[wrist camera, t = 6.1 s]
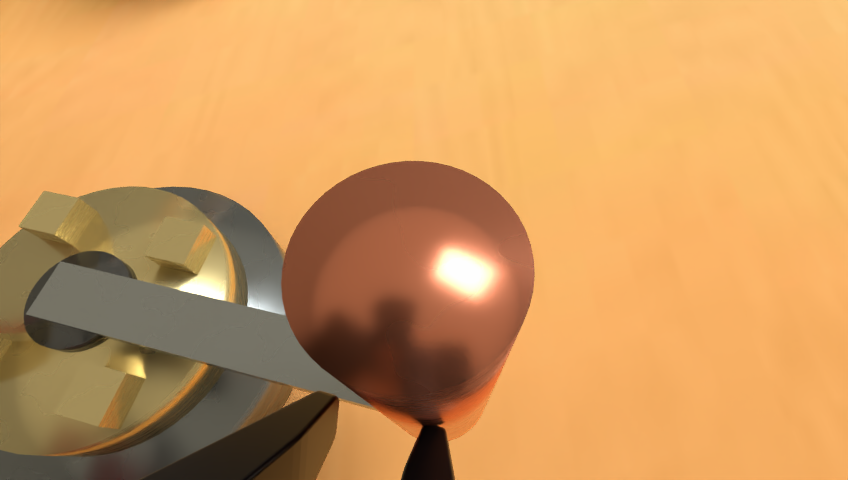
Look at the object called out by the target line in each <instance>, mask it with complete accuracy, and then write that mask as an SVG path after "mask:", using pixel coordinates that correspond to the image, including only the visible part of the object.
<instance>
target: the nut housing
mask: <svg viewBox="0 0 848 480" xmlns="http://www.w3.org/2000/svg"><path fill="white" fill-rule="evenodd" d="M155 189H160V190H163V191H167V192H170V193H173V194H175V195H177V196H180V197H182V198H184V199H185V200H187V201H188V202H190V203H192V204H193V205H194V206H196V207H197V208H198V209H199V210H200V211H201V212H202V213H203V214H204V215H205V216H206V217H207V218H208V219H209V220H210V221H211V222H212V223H213V224H214V225H215V226H216V227H217V228H218V229H219V230H220V231H221V232H222V233H223V234H224V235H225V236H226V237H227V238H228V239H229V241H230V242H231V243H232V245H233V246H234V247H235V249H236V251H237V253H238V254H239V256H240V258H241V261H242V264H243V267H244V269H245V274H246V279H247V285H248V304H247V306H248V307H253V308H257V309H261V310H265V311H269V312H273V313H277V314H282V315H286V314H285V309H284V305H283V300H282V288H281V279H282V267H283V262H284V258H285V252H284V251H283V249H282V248H281V247H280V246H279V244H278V243H277V242H276V241H275V239H274V238H273V237H272V236H271V234H270V233H269V232H268V230H267V229H266V228H265V227H264V225H263V224H262V223H261V222H260V221H259V220H258V219H257V218H256V217H255V216H254V215H253V214H252V213H251V212H250V211H249V210H247V209H246V208H244V207H243V206H241V205H240V204H238V203H237V202H235V201H233V200H231V199H229V198H227V197H225V196H223V195H220V194H216V193H213V192H210V191H207V190H201V189H195V188H188V187H163V188H155ZM292 389H293V388H290V387H286V386H283V385H279V384H275V383H272V382H268V381H264V380H260V379H257V378H253V377H249V376H245V375H242V374H238V373H234V372H231V371H227V370H224V372H223V373H222V375H221V376H220V378H219V380H218V381H217V382H216V384H215V385H214V386H213V387H212V388H211V390H210V391H209V392H208V393H207V395H206V396H205V397H204V398H203V399H202V400H201V401H200V402H199V403H198V404H197V405H196V406H195V407H194V408H193V409H192V410H191V411H190V412H189V413H188V414H186V415H185V416H184V417H183V418H181V419H180V420H179V421H178V422H177V423H175V424H174V425H172V426H171V427H169V428H168V429H166V430H165V431H163V432H162V433H160V434H159V435H157V436H155V437H153V438H151V439H149V440H147V441H145V442H143V443H141V444H139V445H136V446H133V447H131V448H128V449H125V450H123V451H119V452H115V453H110V454H106V455H101V456H90V457H69V456H40V455H23V454H15V453H11V452H7V451H2V450H0V480H139V479H141V478H143V477H145V476H147V475H149V474H151V473H153V472H155V471H157V470H159V469H161V468H163V467H165V466H167V465H169V464H171V463H173V462H175V461H177V460H179V459H181V458H183V457H185V456H187V455H189V454H191V453H193V452H195V451H197V450H199V449H201V448H203V447H205V446H208V445H210V444H212V443H214V442H216V441H218V440H220V439H222V438H224V437H226V436H228V435H230V434H232V433H234V432H236V431H238V430H240V429H242V428H244V427H246V426H248V425H250V424H252V423H254V422H256V421H258V420H260V419H262V418H264V417H266V416H268V415H270V414H272V413H274V412H276V411H278V410H280V409H282V407H283V406H284V404H285V402H286V401H287V399H288V397H289V395H290V393H291V391H292Z"/></svg>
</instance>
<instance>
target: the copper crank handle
mask: <svg viewBox="0 0 848 480" xmlns="http://www.w3.org/2000/svg"><path fill="white" fill-rule="evenodd" d="M19 227H21V228H22V229H21V230H20V231H19V232H17V233H16V234H15V235H14V236H13V237H12V238H11V239H10V240H8V241H7V242H6V243H5V244H4V245H3V246H2V247H1V248H0V450H2V451H7V452H11V453H15V454H23V455H40V456H69V457H90V456H101V455H106V454H110V453H115V452H119V451H123V450H125V449H128V448H131V447H133V446H136V445H139V444H141V443H143V442H145V441H147V440H149V439H151V438H153V437H155V436H157V435H159V434H160V433H162V432H163V431H165V430H166V429H168V428H169V427H171V426H172V425H174V424H175V423H177V422H178V421H179V420H180V419H181V418H183V417H184V416H185V415H186V414H188V413H189V412H190V411H191V410H192V409H193V408H194V407H195V406H196V405H197V404H198V403H199V402H200V401H201V400H202V399H203V398H204V397H205V396H206V395H207V393H208V392H209V391H210V390H211V388H212V387H213V386H214V385H215V384H216V382H217V381H218V380H219V378H220V376H221V375H222V373H223V372H224V370H227V371H231V372H234V373H238V374H242V375H245V376H249V377H253V378H257V379H260V380H264V381H268V382H272V383H275V384H279V385H283V386H286V387H290V388H294V389H298V390H301V391H305V392H309V393H314V392H316V391H324V392H327V393H331V394H334V395H336V396H337V397H338V398H339V401H342V402H346V403H350V404H353V405H357V406H361V407H365V408H368V409H372V410H376V411H379V412H381V413H382V414H383V415H385V416H386V417H387V418H389V419H390V420H391V421H393V422H394V423H395V424H397V425H398V426H399V427H401V428H402V429H403V430H405V431H406V432H407V433H409V434H410V435H412V436H414V437H416V438H418V435H419V433H420V431H421V428H422V426H427V425H436V426H440V427H443V428H444V429H445V430H446V433H447V438H448V441H450V440H453V439H456V438H458V437H460V436H462V435H463V434H465V433H466V432H468V431H469V430H470V429H471V428H472V427H473V426H474V425H475V424H476V422H477V421H478V420H479V418H480V416H481V415H482V413H483V410H484V408H485V406H486V404H487V402H488V399H489V397H490V395H491V393H492V391H493V388H494V386H495V384H496V382H497V379H498V377H499V375H500V373H501V371H502V368H503V366H504V364H505V362H506V359H507V357H508V355H509V353H510V351H511V348H512V346H513V344H514V342H515V339H516V337H517V335H518V333H519V331H520V328H521V326H522V324H523V322H524V319H525V317H526V314H527V311H528V309H529V306H530V302H531V298H532V293H533V287H534V259H533V254H532V249H531V244H530V241H529V239H528V236H527V233H526V230H525V228H524V226H523V224H522V223H521V221H520V219H519V217H518V215H517V214H516V213H515V211H514V210H513V208H512V207H511V206H510V204H509V203H508V202H507V201H506V200H505V199H504V198H503V197H502V196H501V195H500V194H499V193H498V192H497V191H496V190H494V189H493V188H492V187H491V186H490V185H488V184H487V183H485V182H483V181H482V180H480V179H479V178H477V177H475V176H473V175H471V174H469V173H467V172H465V171H463V170H460V169H457V168H454V167H451V166H447V165H443V164H439V163H433V162H424V161H403V162H394V163H388V164H383V165H379V166H375V167H372V168H369V169H366V170H363V171H361V172H359V173H356V174H354V175H352V176H350V177H348V178H346V179H345V180H343V181H341V182H340V183H338V184H336V185H335V186H334V187H332V188H331V189H330V190H328V191H327V192H326V193H325V194H324V195H322V196H321V197H320V198H319V199H318V200H317V201H316V202H315V203H314V204H313V205H312V207H311V208H310V209H309V210H308V211H307V212H306V214H305V215H304V216H303V218H302V219H301V221H300V222H299V224H298V225H297V227H296V229H295V231H294V233H293V235H292V237H291V239H290V242H289V245H288V248H287V250H286V253H285V258H284V262H283V267H282V279H281V288H282V300H283V305H284V309H285V314H286V315H282V314H277V313H273V312H269V311H265V310H261V309H257V308H253V307H248V306H247V304H248V285H247V279H246V274H245V269H244V267H243V264H242V261H241V258H240V256H239V254H238V253H237V251H236V249H235V247H234V246H233V245H232V243H231V242H230V241H229V239H228V238H227V237H226V236H225V235H224V234H223V233H222V232H221V231H220V230H219V229H218V228H217V227H216V226H215V225H214V224H213V223H212V222H211V221H210V220H209V219H208V218H207V217H206V216H205V215H204V214H203V213H202V212H201V211H200V210H199V209H198V208H197V207H196V206H194V205H193V204H192V203H190V202H188V201H187V200H185V199H184V198H182V197H180V196H177V195H175V194H173V193H170V192H167V191H163V190H160V189H155V188H147V187H120V188H111V189H106V190H101V191H97V192H93V193H90V194H87V195H84V196H80V197H78V198H76V197H71V196H66V195H62V194H57V193H52V192H47V191H44V192H43V193H42V194H41V196H40V197H39V199H38V200H37V201H36V203H35V204H34V205H33V207H32V208H31V210H30V211H29V212H28V214H27V215H26V217H25V218H24V219H23V221H22V222H21V223H20V225H19Z"/></svg>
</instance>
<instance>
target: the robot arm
mask: <svg viewBox="0 0 848 480" xmlns="http://www.w3.org/2000/svg"><path fill="white" fill-rule="evenodd" d="M338 409H339V398H338V397H337V396H336V395H334V394H331V393H327V392H324V391H316V392H314V393H312V394H310V395H308V396H306V397H304V398H302V399H300V400H298V401H296V402H294V403H292V404H290V405H288V406H286V407H284V408H282V409H280V410H278V411H276V412H274V413H272V414H270V415H268V416H266V417H264V418H262V419H260V420H258V421H256V422H254V423H252V424H250V425H248V426H246V427H244V428H242V429H240V430H238V431H236V432H234V433H232V434H230V435H228V436H226V437H224V438H222V439H220V440H218V441H216V442H214V443H212V444H210V445H208V446H205V447H203V448H201V449H199V450H197V451H195V452H193V453H191V454H189V455H187V456H185V457H183V458H181V459H179V460H177V461H175V462H173V463H171V464H169V465H167V466H165V467H163V468H161V469H159V470H157V471H155V472H153V473H151V474H149V475H147V476H145V477H143V478H141V479H139V480H316V478H317V475H318V473H319V471H320V469H321V467H322V465H323V463H324V461H325V458H326V456H327V454H328V452H329V450H330V448H331V446H332V443H333V441H334V438H335V435H336V429H337V419H338ZM401 480H455V477H454V471H453V466H452V460H451V455H450V449H449V444H448V438H447V433H446V430H445V429H444V428H443V427H440V426H436V425H427V426H422V428H421V431H420V433H419V435H418V438H417V440H416V442H415V444H414V447H413V449H412V451H411V454H410V456H409V458H408V461H407V463H406V465H405V468H404V471H403V474H402V478H401Z"/></svg>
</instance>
